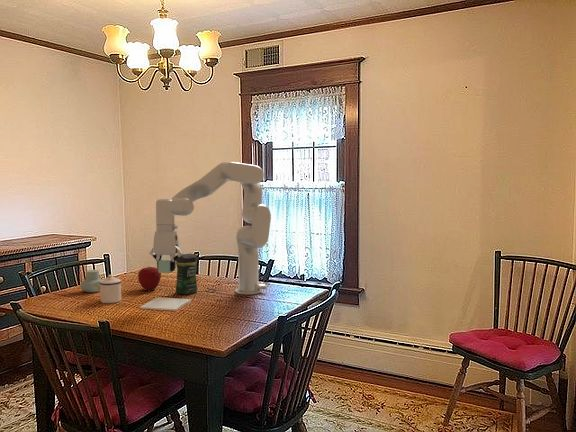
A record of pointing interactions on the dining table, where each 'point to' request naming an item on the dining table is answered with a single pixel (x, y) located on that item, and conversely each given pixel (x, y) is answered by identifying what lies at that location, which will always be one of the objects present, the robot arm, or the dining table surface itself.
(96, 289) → the air freshener
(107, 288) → the teacup with lid
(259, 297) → the dining table surface
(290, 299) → the dining table surface
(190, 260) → the coffee jar
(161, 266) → the block
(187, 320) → the dining table surface
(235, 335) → the dining table surface
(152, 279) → the apple
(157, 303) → the tile
